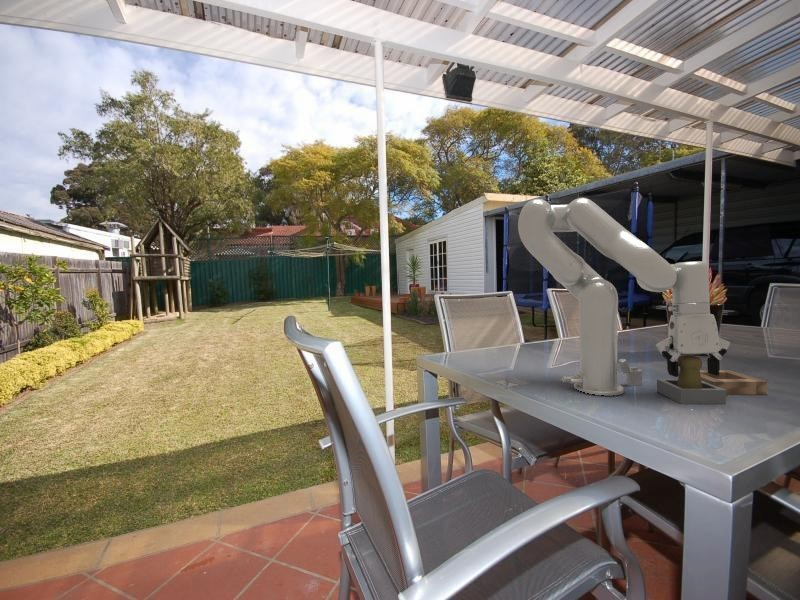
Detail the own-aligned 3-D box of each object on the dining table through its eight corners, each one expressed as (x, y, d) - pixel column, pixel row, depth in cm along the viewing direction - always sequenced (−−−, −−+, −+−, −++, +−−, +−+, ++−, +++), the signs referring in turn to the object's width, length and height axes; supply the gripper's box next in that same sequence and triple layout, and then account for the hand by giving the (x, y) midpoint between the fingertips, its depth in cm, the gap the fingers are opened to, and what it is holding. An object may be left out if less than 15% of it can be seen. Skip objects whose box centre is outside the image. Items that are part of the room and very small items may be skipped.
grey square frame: (681, 403, 94) (681, 389, 94) (657, 391, 104) (656, 379, 104) (726, 403, 93) (726, 389, 93) (697, 391, 103) (697, 379, 103)
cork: (709, 401, 95) (709, 358, 95) (682, 400, 96) (682, 358, 96) (696, 394, 101) (696, 353, 101) (670, 393, 102) (670, 353, 102)
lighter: (637, 383, 113) (637, 357, 113) (642, 384, 112) (642, 358, 111) (617, 385, 112) (617, 358, 111) (622, 387, 110) (622, 359, 110)
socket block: (713, 394, 100) (713, 381, 100) (682, 381, 113) (682, 370, 113) (766, 394, 99) (767, 381, 99) (728, 381, 112) (729, 370, 112)
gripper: (664, 312, 95) (666, 379, 95) (738, 308, 93) (740, 377, 93) (647, 310, 102) (650, 372, 103) (716, 306, 100) (718, 370, 101)
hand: (693, 374), depth 98 cm, fingers open, 9 cm apart
